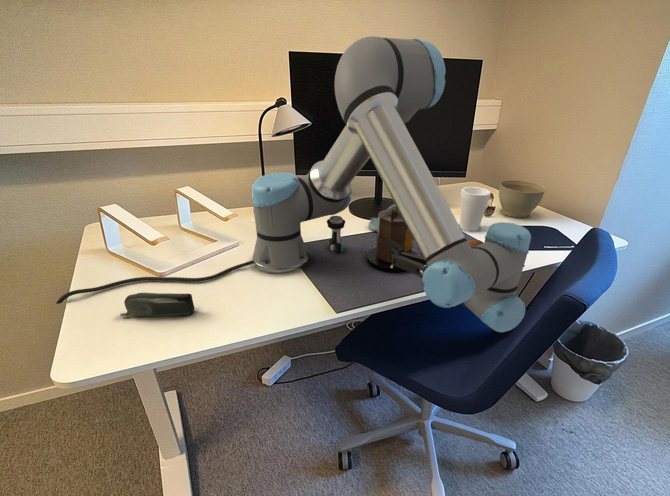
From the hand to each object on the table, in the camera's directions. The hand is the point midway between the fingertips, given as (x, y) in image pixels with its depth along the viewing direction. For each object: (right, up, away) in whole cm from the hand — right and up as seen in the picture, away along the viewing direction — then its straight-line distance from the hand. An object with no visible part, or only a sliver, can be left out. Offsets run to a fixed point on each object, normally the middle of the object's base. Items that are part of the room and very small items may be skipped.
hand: (413, 240), depth 100 cm
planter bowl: (+45, +18, +51) cm, 71 cm away
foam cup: (+24, +10, +38) cm, 45 cm away
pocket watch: (-6, +9, +34) cm, 36 cm away
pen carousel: (-4, -2, +12) cm, 13 cm away
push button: (-22, 0, +19) cm, 29 cm away
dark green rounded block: (-58, -18, -13) cm, 62 cm away
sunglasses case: (+14, -2, +19) cm, 23 cm away
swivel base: (-4, -4, +13) cm, 15 cm away
